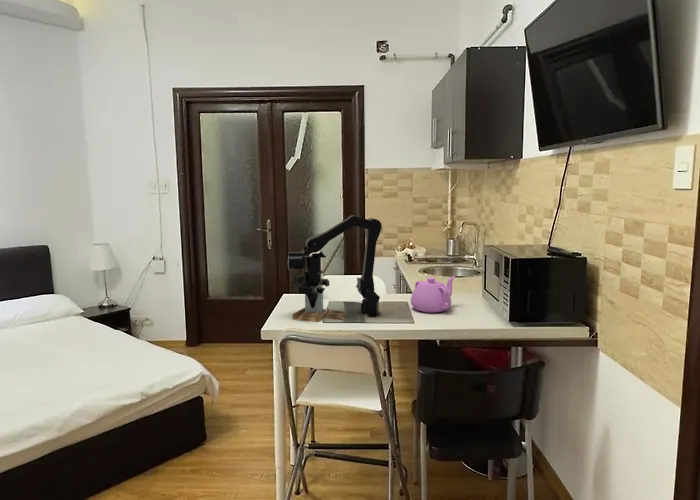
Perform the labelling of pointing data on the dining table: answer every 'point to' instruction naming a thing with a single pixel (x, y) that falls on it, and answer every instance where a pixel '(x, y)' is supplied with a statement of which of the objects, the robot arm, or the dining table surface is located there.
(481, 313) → the dining table surface
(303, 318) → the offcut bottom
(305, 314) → the offcut top
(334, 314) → the holder
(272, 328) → the dining table surface
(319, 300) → the grey rectangular slab
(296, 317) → the tray
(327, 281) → the robot arm
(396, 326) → the dining table surface
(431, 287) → the teapot
